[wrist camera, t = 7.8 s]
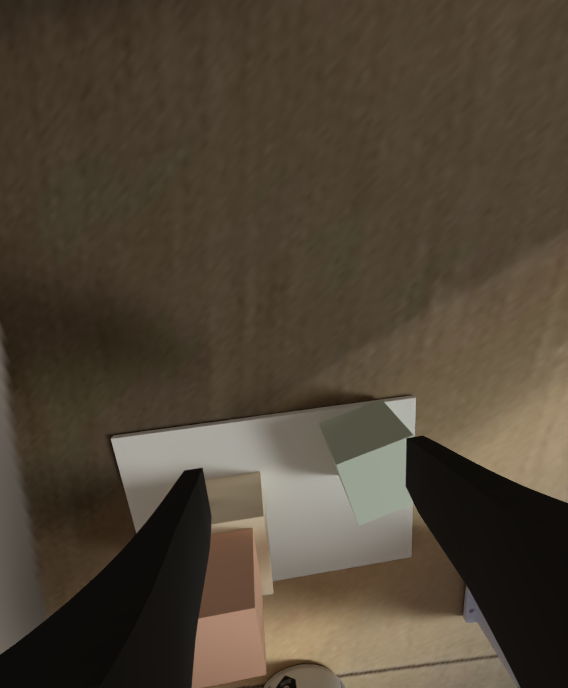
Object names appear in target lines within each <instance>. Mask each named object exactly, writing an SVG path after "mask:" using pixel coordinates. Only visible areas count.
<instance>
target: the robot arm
mask: <svg viewBox="0 0 568 688" xmlns="http://www.w3.org/2000/svg"><path fill="white" fill-rule="evenodd" d="M406 488H407V490H408V492H409V494H410V496H411V499H412V501H413V503H414V504H415V506H416V508H417V510H418V512H419V514H420V515H421V517H422V519H423V520H424V522H425V523H426V525H427V526H428V528H429V529H430V531H431V532H432V534H433V535H434V537H435V538H436V540H437V541H438V543H439V544H440V546H441V547H442V549H443V550H444V552H445V553H446V555H447V556H448V558H449V559H450V561H451V562H452V564H453V565H454V567H455V568H456V570H457V571H458V573H459V574H460V576H461V578H462V579H463V581H464V582H465V584H466V590H465V601H464V612H463V618H464V619H465V621H466V622H467V623H473V622H477V623H478V624H479V626H480V627H481V629H482V631H483V632H484V634H485V636H486V637H487V639H488V640H489V642H490V644H491V645H492V647H493V648H494V650H495V652H496V653H497V655H498V657H499V658H500V660H501V661H502V663H503V665H504V666H505V668H506V670H507V671H508V673H509V674H510V676H511V678H512V679H513V681H514V683H515V684H516V686H517V687H518V688H568V503H566V502H563V501H560V500H558V499H555V498H552V497H550V496H547V495H544V494H542V493H539V492H537V491H534V490H532V489H529V488H527V487H525V486H522V485H520V484H518V483H515V482H513V481H511V480H509V479H507V478H505V477H502V476H500V475H498V474H496V473H494V472H492V471H490V470H488V469H486V468H484V467H482V466H480V465H478V464H476V463H474V462H472V461H470V460H468V459H466V458H465V457H463V456H461V455H459V454H457V453H455V452H453V451H452V450H450V449H448V448H446V447H444V446H442V445H440V444H439V443H437V442H435V441H433V440H431V439H429V438H427V437H424V436H418V437H411V438H406ZM211 522H212V515H211V510H210V504H209V499H208V494H207V488H206V483H205V478H204V472H203V468H197V469H190V470H184V472H183V473H182V474H181V475H180V477H179V478H178V480H177V481H176V482H175V484H174V485H173V487H172V488H171V490H170V491H169V492H168V494H167V495H166V496H165V498H164V499H163V501H162V502H161V503H160V505H159V506H158V507H157V508H156V510H155V511H154V512H153V514H152V515H151V516H150V518H149V519H148V520H147V521H146V523H145V524H144V525H143V526H142V527H141V529H140V530H139V531H138V532H137V533H136V535H135V536H134V537H133V538H132V539H131V541H130V542H129V543H128V544H127V545H126V546H125V547H124V548H123V550H122V551H121V552H120V553H119V554H118V555H117V556H116V557H115V558H114V559H113V560H112V561H111V562H110V563H109V564H108V565H107V566H106V567H105V568H104V569H103V570H102V571H101V572H100V573H99V574H98V575H97V576H96V577H95V578H94V579H93V580H91V581H90V582H89V583H88V584H87V585H86V586H85V587H84V588H83V589H81V590H80V591H79V592H78V593H77V594H76V595H75V596H74V597H73V598H72V599H70V600H69V601H68V602H67V603H66V604H65V605H64V606H62V607H61V608H60V609H59V610H58V611H56V612H55V613H54V614H53V615H52V616H50V617H49V618H48V619H47V620H45V621H44V622H43V623H42V624H40V625H39V626H38V627H37V628H35V629H34V630H33V631H32V632H30V633H29V634H28V635H26V636H25V637H24V638H23V639H21V640H20V641H19V642H17V643H16V644H15V645H13V646H12V647H10V648H9V649H8V650H6V651H5V652H3V653H2V654H1V655H0V688H192V677H193V664H194V652H195V640H196V633H197V625H198V618H199V612H200V606H201V600H202V594H203V588H204V582H205V576H206V570H207V564H208V558H209V552H210V542H211Z"/></svg>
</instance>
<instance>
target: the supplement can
mask: <svg viewBox="0 0 568 688" xmlns="http://www.w3.org/2000/svg"><path fill="white" fill-rule="evenodd" d="M264 688H345V686H344V683H343V681H342V680H341V679H339V678H338V677H337V676H336V675H335V674H334V673H332V672H331V671H330V670H329V669H327V668H325V667H322V666H319V665H316V664H301V665H296V666H292V667H288V668H286V669H284V670H282V671H280V672H278V673H276V674H275V675H274V676H273V677H271V678H270V679H269V680H268V681H267V682H266V684H265V686H264Z"/></svg>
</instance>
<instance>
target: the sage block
mask: <svg viewBox="0 0 568 688" xmlns="http://www.w3.org/2000/svg"><path fill="white" fill-rule="evenodd" d="M319 425H320V428H321V431H322V433H323V436H324V439H325V441H326V444H327V447H328V449H329V452H330V454H331V457H332V460H333V462H334V465H335V468H336V470H337V473H338V476H339V478H340V480H341V483H342V485H343V488H344V490H345V493H346V495H347V498H348V500H349V503H350V505H351V507H352V510H353V512H354V515H355V517H356V520H357V522H358V525H362V524H364V523H367V522H369V521H372V520H374V519H377V518H380V517H382V516H385V515H387V514H390V513H392V512H395V511H398V510H400V509H403V508H405V507H408V506H411V505H413V504H414V503H413V501H412V499H411V496H410V494H409V492H408V490H407V488H406V438H411V437H414V435H413V434H412V433H411V432H410V430H409V429H408V428H407V427H406V426H405V425H404V424H403V423H402V421H401V420H400V419H399V418H398V417H397V416H396V415H395V414H394V412H393V411H392V410H391V409H390V408H389V407H388V406H387V405H386V403H385V402H384V401H383V400H382V399H380V400H377V401H375V402H372V403H369V404H367V405H364V406H362V407H359V408H356V409H354V410H351V411H349V412H346V413H344V414H341V415H338V416H336V417H333V418H331V419H328V420H325V421H323V422H320V423H319Z"/></svg>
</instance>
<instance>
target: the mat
mask: <svg viewBox="0 0 568 688" xmlns="http://www.w3.org/2000/svg"><path fill="white" fill-rule="evenodd" d="M382 400H383V401H384V402H385V403H386V405H387V406H388V407H389V408H390V409H391V410H392V411H393V412H394V414H395V415H396V416H397V417H398V418H399V419H400V420H401V421H402V423H403V424H404V425H405V426H406V427H407V428H408V429H409V430H410V432H411V433H412V434H413V435H414V437H415V411H416V397H415V396H413V395H411V396H403V397H396V398H388V399H382ZM375 401H377V400H373V401H366V402H359V403H351V404H344V405H336V406H329V407H321V408H314V409H306V410H299V411H292V412H284V413H277V414H269V415H262V416H254V417H247V418H239V419H232V420H225V421H217V422H210V423H202V424H195V425H187V426H180V427H172V428H165V429H158V430H150V431H143V432H135V433H128V434H120V435H113V436H112V438H111V442H112V445H113V449H114V453H115V456H116V460H117V464H118V467H119V471H120V475H121V479H122V482H123V486H124V490H125V493H126V497H127V501H128V504H129V508H130V512H131V515H132V519H133V523H134V527H135V530H136V533H137V532H138V531H139V530H140V529H141V527H142V526H143V525H144V524H145V523H146V521H147V520H148V519H149V518H150V516H151V515H152V514H153V512H154V511H155V510H156V508H157V507H158V506H159V505H160V503H161V502H162V501H163V499H164V498H165V496H166V495H167V494H168V492H169V490H170V487H171V485H173V484H175V482H176V481H177V480H178V478H179V477H180V475H181V474H182V473H183V472H184V470H190V469H197V468H203V472H204V478H205V480H207V479H213V478H220V477H227V476H234V475H240V474H247V473H254V472H260V473H261V480H262V488H263V496H264V504H265V512H266V519H267V527H268V535H269V544H270V556H271V568H272V580H273V581H278V580H284V579H290V578H295V577H301V576H307V575H313V574H318V573H324V572H330V571H335V570H341V569H347V568H353V567H358V566H364V565H370V564H375V563H381V562H387V561H392V560H398V559H404V558H410V557H411V556H412V520H413V505H411V506H408V507H405V508H403V509H400V510H398V511H395V512H392V513H390V514H387V515H385V516H382V517H380V518H377V519H374V520H372V521H369V522H367V523H364V524H362V525H358V522H357V520H356V517H355V515H354V512H353V510H352V507H351V505H350V503H349V500H348V498H347V495H346V493H345V490H344V488H343V485H342V483H341V480H340V478H339V476H338V473H337V470H336V468H335V465H334V462H333V460H332V457H331V454H330V452H329V449H328V447H327V444H326V441H325V439H324V436H323V433H322V431H321V428H320V425H319V423H320V422H323V421H325V420H328V419H331V418H333V417H336V416H338V415H341V414H344V413H346V412H349V411H351V410H354V409H356V408H359V407H362V406H364V405H367V404H369V403H372V402H375Z"/></svg>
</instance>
